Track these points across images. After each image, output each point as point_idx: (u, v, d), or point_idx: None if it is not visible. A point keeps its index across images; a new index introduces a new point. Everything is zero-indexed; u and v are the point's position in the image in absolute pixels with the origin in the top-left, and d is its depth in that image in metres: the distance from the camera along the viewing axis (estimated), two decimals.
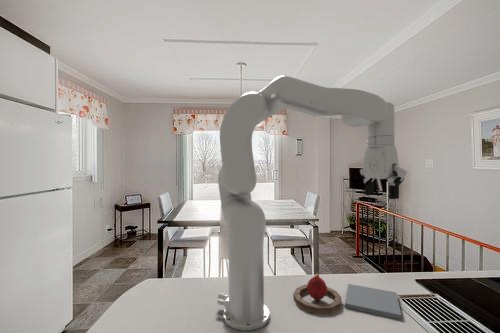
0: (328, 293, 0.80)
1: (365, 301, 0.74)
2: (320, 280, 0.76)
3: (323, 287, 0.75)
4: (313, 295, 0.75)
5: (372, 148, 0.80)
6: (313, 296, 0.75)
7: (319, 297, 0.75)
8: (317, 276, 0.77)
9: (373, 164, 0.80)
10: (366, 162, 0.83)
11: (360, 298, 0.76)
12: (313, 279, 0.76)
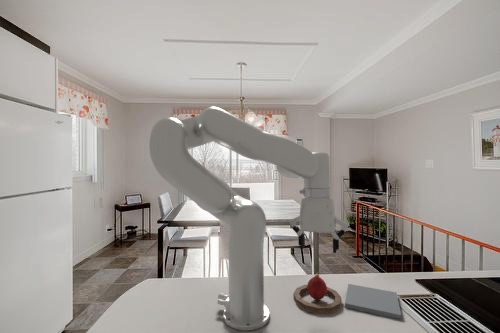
0: (328, 293, 0.80)
1: (365, 301, 0.74)
2: (320, 280, 0.76)
3: (323, 287, 0.75)
4: (313, 295, 0.75)
5: (313, 200, 0.75)
6: (313, 296, 0.75)
7: (319, 297, 0.75)
8: (317, 276, 0.77)
9: (315, 218, 0.74)
10: (304, 214, 0.76)
11: (360, 298, 0.76)
12: (313, 279, 0.76)
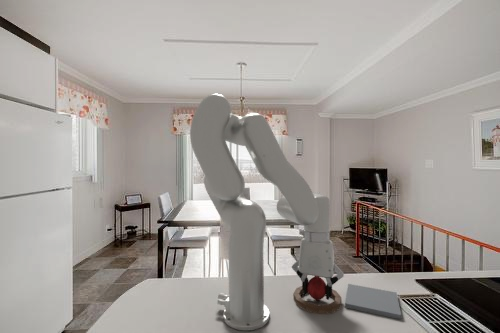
0: None
1: (365, 301, 0.74)
2: (320, 280, 0.76)
3: (323, 287, 0.75)
4: (313, 295, 0.75)
5: (312, 244, 0.75)
6: (313, 296, 0.75)
7: (319, 297, 0.75)
8: (317, 276, 0.77)
9: (314, 261, 0.75)
10: (304, 257, 0.76)
11: (360, 298, 0.76)
12: (313, 279, 0.76)
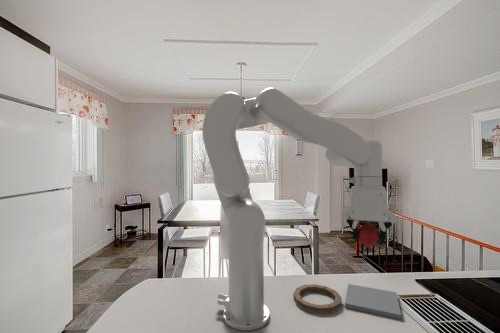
0: (328, 293, 0.80)
1: (365, 301, 0.74)
2: (372, 226, 0.75)
3: (376, 232, 0.74)
4: (366, 240, 0.74)
5: (365, 189, 0.74)
6: (366, 242, 0.74)
7: (373, 242, 0.74)
8: (369, 222, 0.76)
9: (367, 206, 0.74)
10: (356, 203, 0.75)
11: (360, 298, 0.76)
12: (365, 226, 0.75)
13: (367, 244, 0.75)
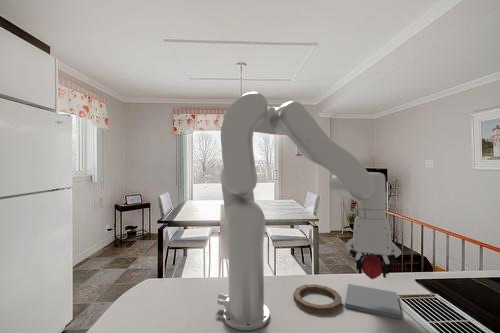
0: (328, 293, 0.80)
1: (365, 301, 0.74)
2: (376, 258, 0.75)
3: (380, 265, 0.74)
4: (370, 273, 0.74)
5: (369, 221, 0.74)
6: (370, 274, 0.74)
7: (376, 275, 0.74)
8: (372, 254, 0.76)
9: (371, 239, 0.74)
10: (359, 235, 0.75)
11: (360, 298, 0.76)
12: (368, 258, 0.76)
13: (370, 276, 0.75)
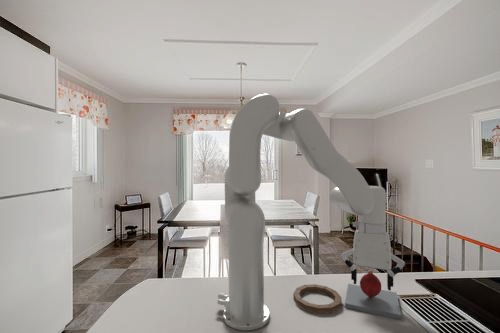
0: (328, 293, 0.80)
1: (365, 301, 0.74)
2: (374, 277, 0.75)
3: (378, 284, 0.74)
4: (368, 292, 0.74)
5: (369, 235, 0.74)
6: (368, 293, 0.74)
7: (374, 294, 0.74)
8: (371, 273, 0.76)
9: (370, 253, 0.74)
10: (359, 249, 0.75)
11: (360, 298, 0.76)
12: (367, 276, 0.76)
13: (369, 295, 0.75)
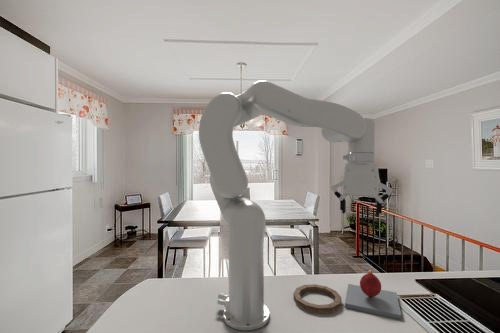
0: (328, 293, 0.80)
1: (365, 301, 0.74)
2: (374, 277, 0.75)
3: (378, 284, 0.74)
4: (368, 292, 0.74)
5: (357, 164, 0.77)
6: (368, 293, 0.74)
7: (374, 294, 0.74)
8: (371, 273, 0.76)
9: (359, 181, 0.76)
10: (348, 179, 0.78)
11: (360, 298, 0.76)
12: (367, 276, 0.76)
13: (369, 295, 0.75)
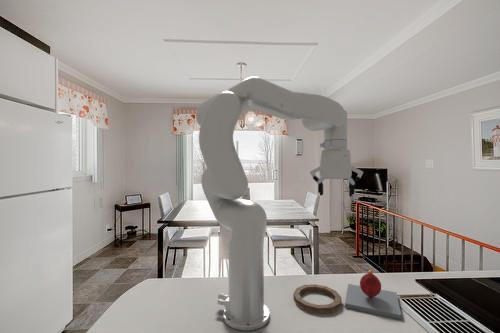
0: (328, 293, 0.80)
1: (365, 301, 0.74)
2: (374, 277, 0.75)
3: (378, 284, 0.74)
4: (368, 292, 0.74)
5: (332, 151, 0.86)
6: (368, 293, 0.74)
7: (374, 294, 0.74)
8: (371, 273, 0.76)
9: (334, 166, 0.85)
10: (324, 164, 0.87)
11: (360, 298, 0.76)
12: (367, 276, 0.76)
13: (369, 295, 0.75)
